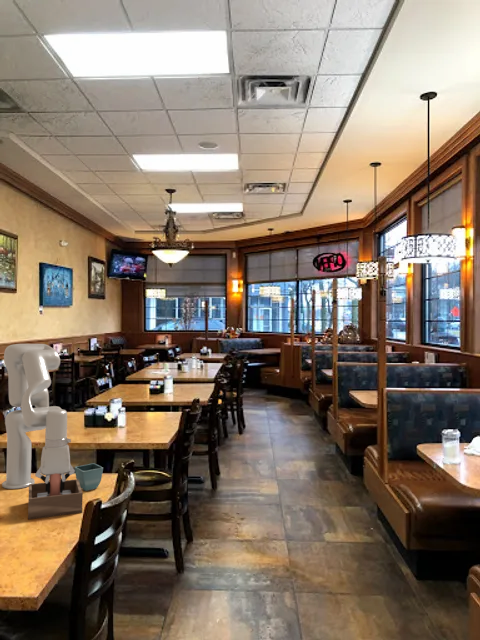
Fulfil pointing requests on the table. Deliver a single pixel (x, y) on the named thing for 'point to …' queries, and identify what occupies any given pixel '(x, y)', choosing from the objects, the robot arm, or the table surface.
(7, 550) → the table surface
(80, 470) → the flower pot
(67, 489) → the open box
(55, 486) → the peg
